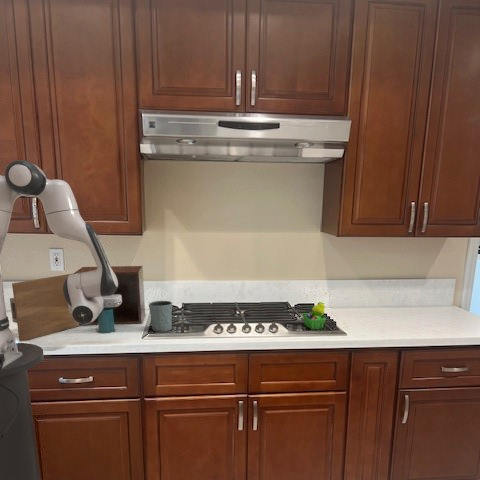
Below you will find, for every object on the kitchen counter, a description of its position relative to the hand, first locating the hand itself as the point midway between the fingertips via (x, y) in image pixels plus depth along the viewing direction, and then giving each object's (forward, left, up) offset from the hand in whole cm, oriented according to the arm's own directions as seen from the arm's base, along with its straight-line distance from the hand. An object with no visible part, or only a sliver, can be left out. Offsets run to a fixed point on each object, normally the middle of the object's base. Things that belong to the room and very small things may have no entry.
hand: (98, 296), depth 189 cm
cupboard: (+31, 0, -18) cm, 36 cm away
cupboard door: (+12, +26, -18) cm, 34 cm away
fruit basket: (+9, -93, -18) cm, 95 cm away
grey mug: (+12, -24, -18) cm, 32 cm away
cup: (+12, 0, -18) cm, 22 cm away
